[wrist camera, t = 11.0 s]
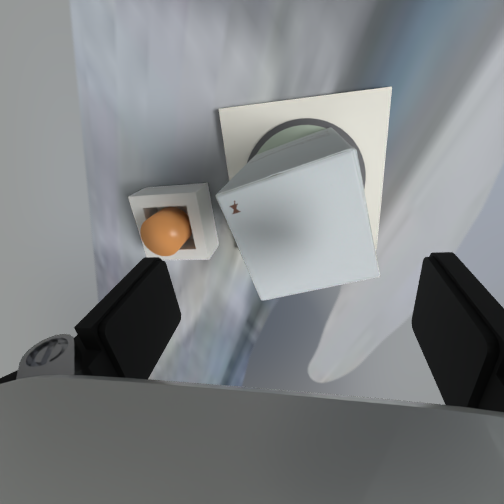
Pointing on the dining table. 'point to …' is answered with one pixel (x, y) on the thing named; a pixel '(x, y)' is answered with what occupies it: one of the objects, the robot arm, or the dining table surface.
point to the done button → (166, 231)
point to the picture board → (308, 122)
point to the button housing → (193, 204)
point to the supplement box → (301, 216)
